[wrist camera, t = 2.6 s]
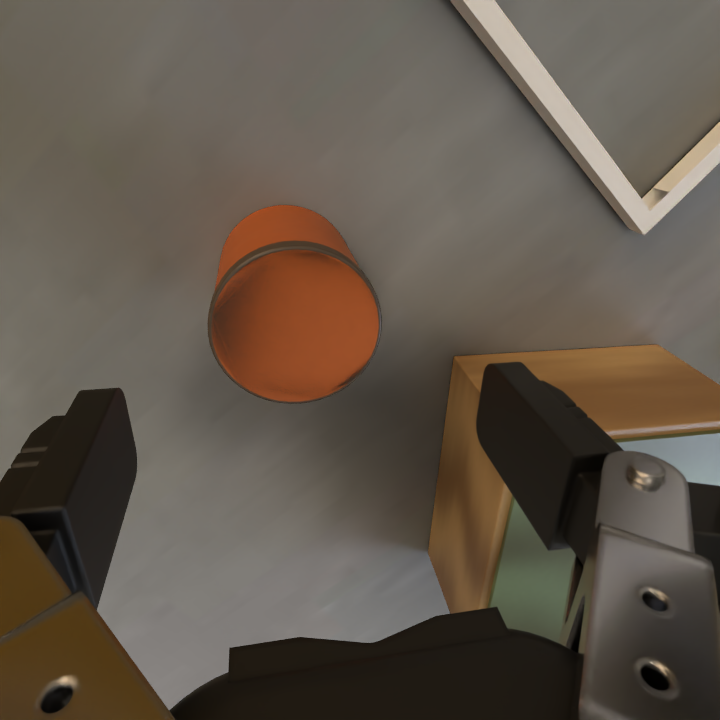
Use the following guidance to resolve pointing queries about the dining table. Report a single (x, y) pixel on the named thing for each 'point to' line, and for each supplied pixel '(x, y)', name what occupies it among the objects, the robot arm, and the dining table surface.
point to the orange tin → (291, 308)
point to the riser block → (500, 509)
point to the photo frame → (585, 125)
